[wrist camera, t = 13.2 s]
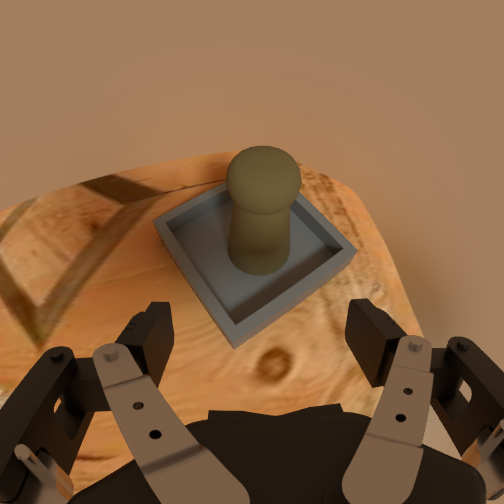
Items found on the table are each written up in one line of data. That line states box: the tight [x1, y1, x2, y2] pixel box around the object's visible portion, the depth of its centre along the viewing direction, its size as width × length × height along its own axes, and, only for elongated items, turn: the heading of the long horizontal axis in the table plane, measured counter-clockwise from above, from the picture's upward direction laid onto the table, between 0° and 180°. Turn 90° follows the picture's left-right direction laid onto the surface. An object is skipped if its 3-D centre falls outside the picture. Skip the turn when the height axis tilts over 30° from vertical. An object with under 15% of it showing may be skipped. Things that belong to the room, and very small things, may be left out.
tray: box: [153, 182, 358, 349], centre depth 26 cm, size 14×14×3 cm
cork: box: [226, 146, 302, 276], centre depth 22 cm, size 6×6×11 cm
